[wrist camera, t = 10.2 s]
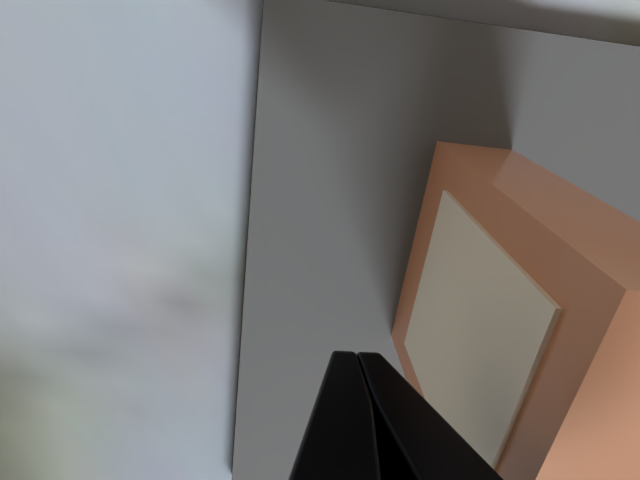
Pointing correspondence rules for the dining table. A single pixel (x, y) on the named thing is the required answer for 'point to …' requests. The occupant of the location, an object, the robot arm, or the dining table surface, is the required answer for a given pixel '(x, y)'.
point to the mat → (391, 176)
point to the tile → (525, 317)
